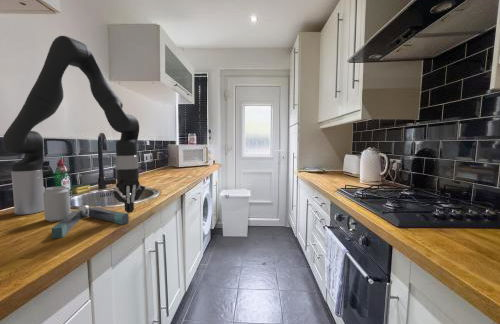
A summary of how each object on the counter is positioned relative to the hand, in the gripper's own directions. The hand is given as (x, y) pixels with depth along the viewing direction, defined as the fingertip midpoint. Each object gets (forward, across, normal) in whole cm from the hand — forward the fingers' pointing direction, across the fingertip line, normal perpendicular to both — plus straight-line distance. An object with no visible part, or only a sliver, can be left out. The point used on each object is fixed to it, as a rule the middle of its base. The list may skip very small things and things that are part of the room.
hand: (129, 212), depth 92 cm
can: (+2, +16, -19) cm, 25 cm away
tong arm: (+1, +7, -2) cm, 7 cm away
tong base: (+1, +16, -6) cm, 17 cm away
